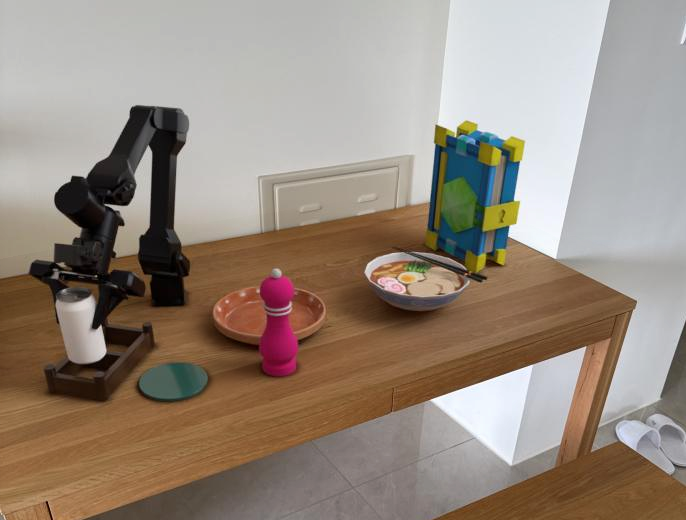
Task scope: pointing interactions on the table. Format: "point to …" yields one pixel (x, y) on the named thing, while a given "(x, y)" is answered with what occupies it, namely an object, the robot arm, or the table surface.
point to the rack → (103, 364)
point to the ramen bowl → (418, 279)
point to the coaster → (173, 381)
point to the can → (80, 325)
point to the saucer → (250, 319)
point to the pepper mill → (278, 326)
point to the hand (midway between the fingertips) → (76, 326)
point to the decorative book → (473, 194)
